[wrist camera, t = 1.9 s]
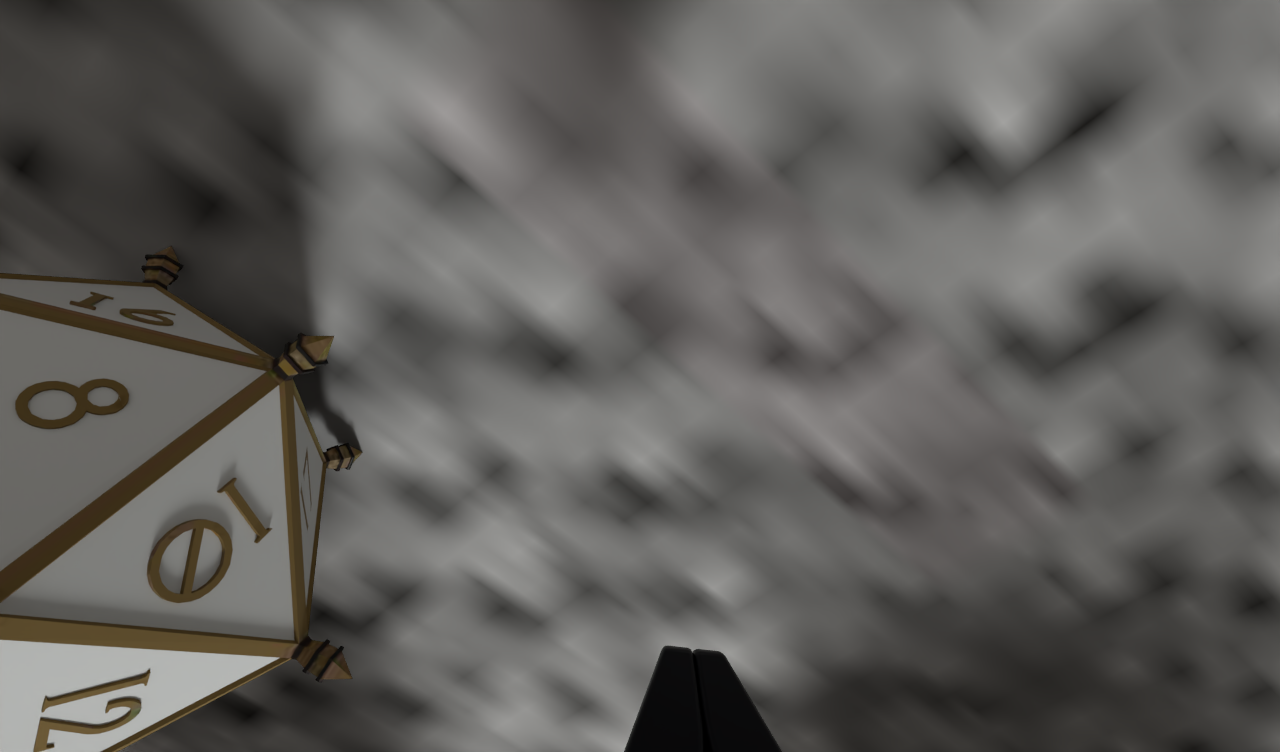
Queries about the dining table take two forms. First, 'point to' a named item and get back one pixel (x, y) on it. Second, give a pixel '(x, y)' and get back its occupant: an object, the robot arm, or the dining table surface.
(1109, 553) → the dining table surface
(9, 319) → the game die
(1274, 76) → the dining table surface
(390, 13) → the dining table surface
